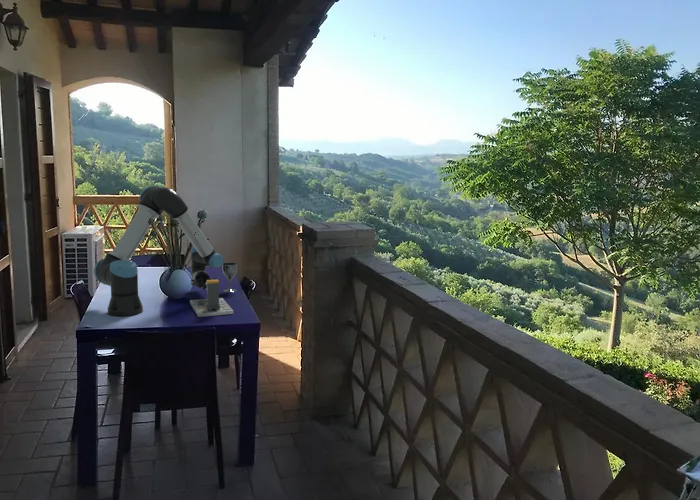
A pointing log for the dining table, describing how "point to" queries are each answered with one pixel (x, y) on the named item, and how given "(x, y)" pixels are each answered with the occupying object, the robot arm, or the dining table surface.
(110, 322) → the dining table surface
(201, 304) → the plate
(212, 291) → the block
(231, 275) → the wine glass
